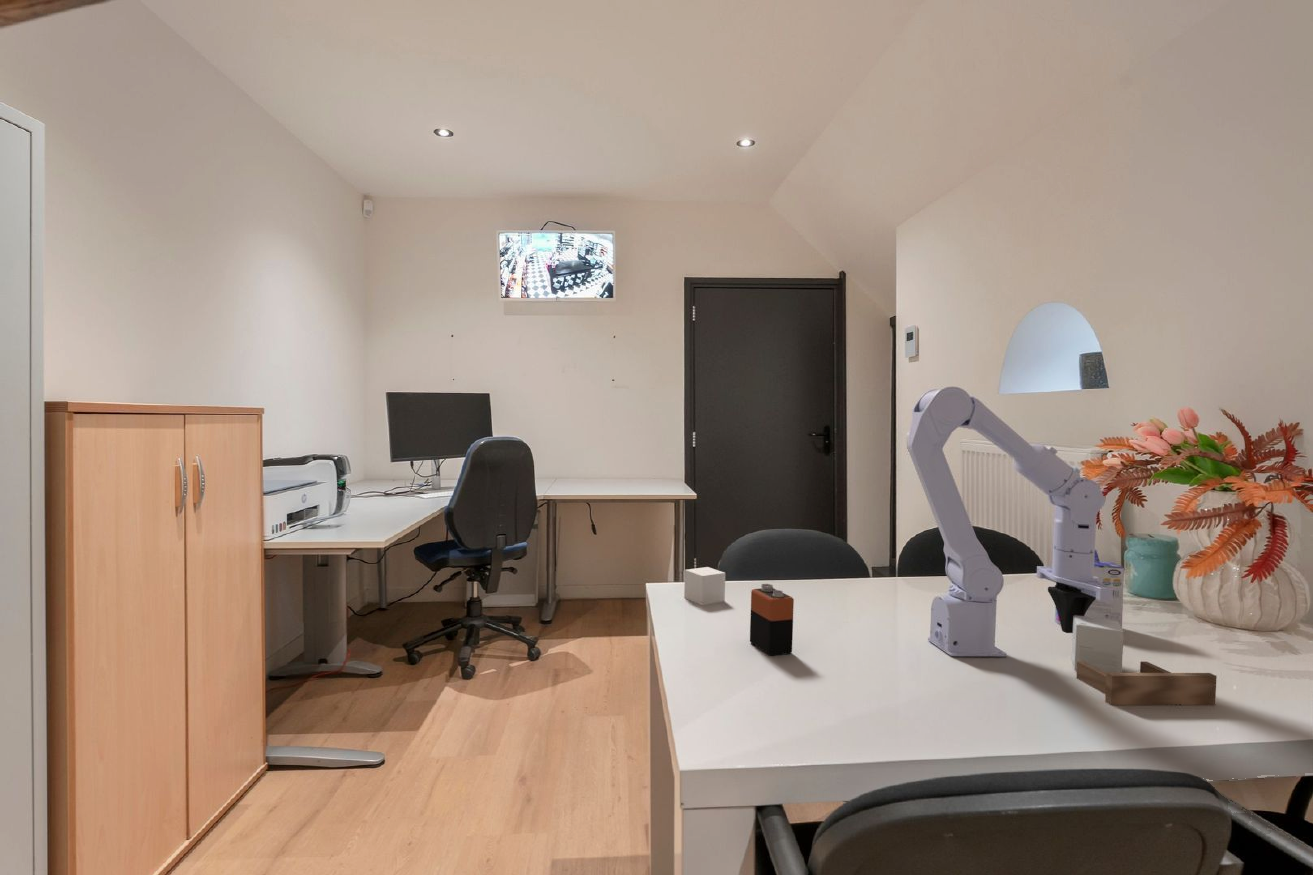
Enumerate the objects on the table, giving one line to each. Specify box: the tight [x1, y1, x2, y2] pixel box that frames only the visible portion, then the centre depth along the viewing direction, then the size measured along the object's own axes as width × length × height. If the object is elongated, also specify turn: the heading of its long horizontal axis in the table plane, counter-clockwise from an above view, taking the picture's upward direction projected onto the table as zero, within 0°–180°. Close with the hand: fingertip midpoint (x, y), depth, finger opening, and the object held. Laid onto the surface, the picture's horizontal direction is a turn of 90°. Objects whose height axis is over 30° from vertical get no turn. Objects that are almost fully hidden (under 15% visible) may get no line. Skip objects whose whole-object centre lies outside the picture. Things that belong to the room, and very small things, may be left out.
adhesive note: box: [683, 566, 726, 606], centre depth 131 cm, size 6×6×6 cm
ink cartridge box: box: [1054, 549, 1125, 628], centre depth 119 cm, size 10×6×14 cm, turn 78°
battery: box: [749, 583, 795, 656], centre depth 103 cm, size 4×7×10 cm, turn 21°
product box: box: [1070, 615, 1125, 673], centre depth 98 cm, size 6×6×7 cm
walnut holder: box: [1075, 661, 1218, 706], centre depth 90 cm, size 15×9×4 cm, turn 94°
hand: (1070, 632), depth 103 cm, fingers closed
